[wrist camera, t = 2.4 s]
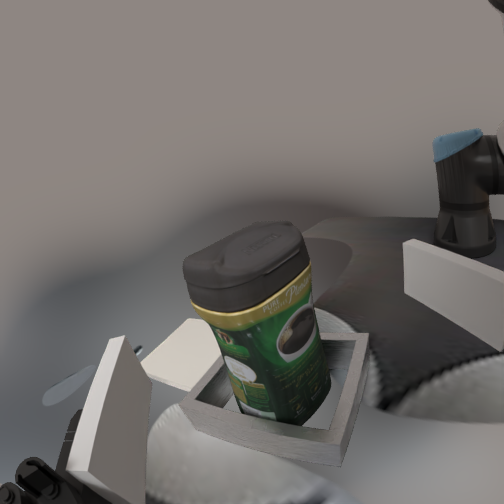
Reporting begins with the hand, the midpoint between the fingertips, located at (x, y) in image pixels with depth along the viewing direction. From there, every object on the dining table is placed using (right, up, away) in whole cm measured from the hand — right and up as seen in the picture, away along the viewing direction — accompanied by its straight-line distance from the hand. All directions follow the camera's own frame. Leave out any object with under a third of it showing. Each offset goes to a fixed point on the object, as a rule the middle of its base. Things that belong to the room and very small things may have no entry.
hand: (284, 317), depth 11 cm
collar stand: (+2, -13, +15) cm, 20 cm away
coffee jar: (+2, -13, +15) cm, 20 cm away
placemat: (-9, -12, +27) cm, 31 cm away
